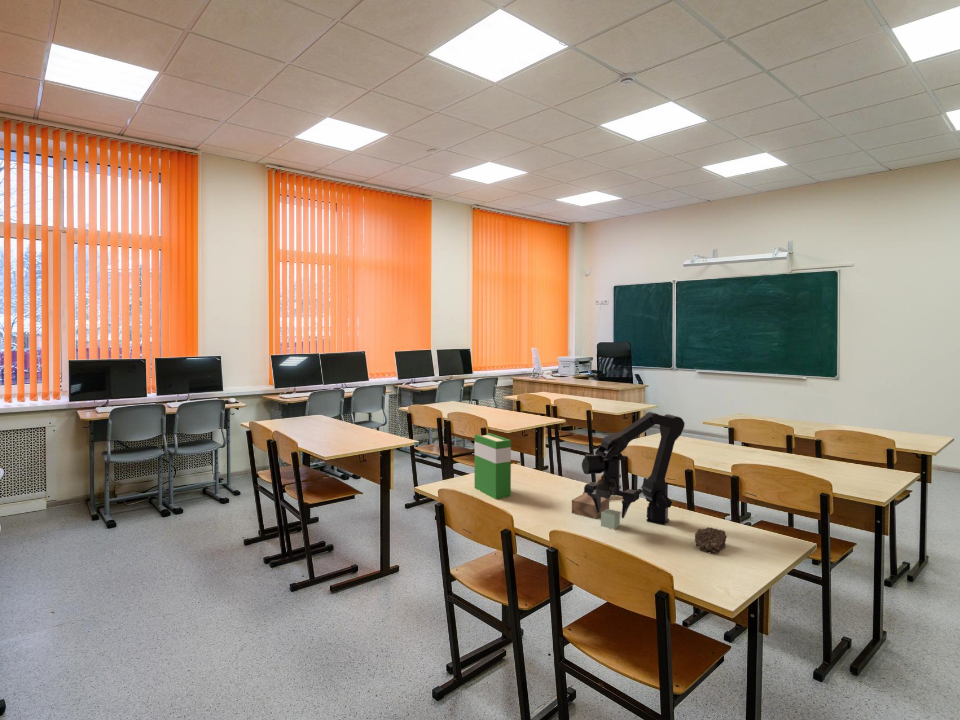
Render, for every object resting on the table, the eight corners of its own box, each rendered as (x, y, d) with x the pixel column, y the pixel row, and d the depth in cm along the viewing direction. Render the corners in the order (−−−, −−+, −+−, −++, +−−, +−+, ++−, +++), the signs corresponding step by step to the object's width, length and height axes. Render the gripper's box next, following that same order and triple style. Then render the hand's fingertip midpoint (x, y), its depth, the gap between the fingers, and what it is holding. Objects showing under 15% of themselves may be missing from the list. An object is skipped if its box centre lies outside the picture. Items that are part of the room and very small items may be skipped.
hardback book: (474, 488, 231) (474, 434, 229) (488, 485, 235) (488, 433, 233) (495, 499, 216) (495, 442, 214) (510, 496, 219) (510, 440, 218)
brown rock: (702, 537, 176) (702, 523, 176) (732, 547, 169) (733, 531, 169) (685, 547, 169) (686, 531, 168) (717, 557, 161) (717, 541, 161)
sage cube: (619, 525, 187) (620, 511, 187) (614, 529, 183) (614, 515, 183) (606, 522, 190) (606, 508, 190) (600, 526, 186) (601, 512, 186)
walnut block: (609, 509, 203) (609, 497, 203) (595, 518, 193) (596, 505, 193) (585, 504, 209) (585, 492, 209) (571, 512, 200) (571, 500, 199)
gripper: (577, 472, 185) (576, 515, 186) (628, 482, 174) (627, 528, 175) (591, 466, 194) (590, 507, 195) (640, 474, 183) (639, 518, 183)
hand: (610, 515), depth 187 cm, fingers open, 9 cm apart
